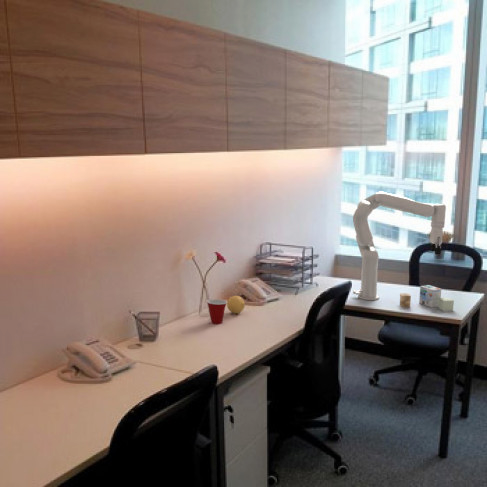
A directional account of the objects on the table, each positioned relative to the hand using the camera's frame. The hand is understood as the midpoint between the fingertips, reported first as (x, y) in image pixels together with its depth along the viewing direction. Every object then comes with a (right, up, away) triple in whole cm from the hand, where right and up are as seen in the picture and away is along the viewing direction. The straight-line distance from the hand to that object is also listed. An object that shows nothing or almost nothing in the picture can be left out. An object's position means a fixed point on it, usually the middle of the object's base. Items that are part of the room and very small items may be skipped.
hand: (435, 252), depth 312 cm
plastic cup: (-130, -37, -37) cm, 140 cm away
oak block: (-21, -31, -8) cm, 38 cm away
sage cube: (0, -32, -14) cm, 35 cm away
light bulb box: (-6, -31, -6) cm, 32 cm away
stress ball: (-120, -34, -21) cm, 126 cm away
